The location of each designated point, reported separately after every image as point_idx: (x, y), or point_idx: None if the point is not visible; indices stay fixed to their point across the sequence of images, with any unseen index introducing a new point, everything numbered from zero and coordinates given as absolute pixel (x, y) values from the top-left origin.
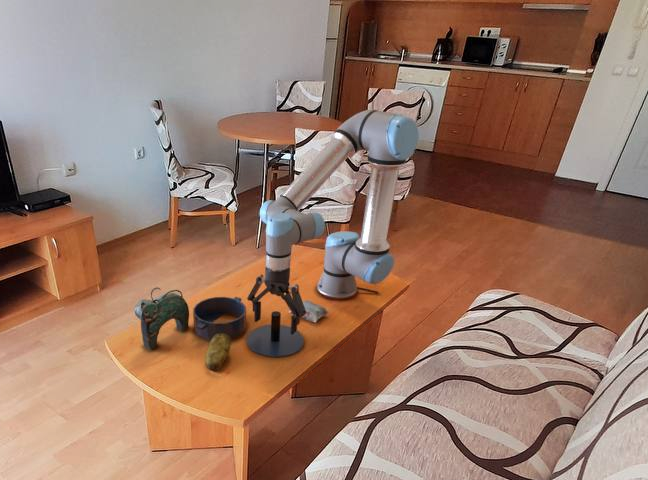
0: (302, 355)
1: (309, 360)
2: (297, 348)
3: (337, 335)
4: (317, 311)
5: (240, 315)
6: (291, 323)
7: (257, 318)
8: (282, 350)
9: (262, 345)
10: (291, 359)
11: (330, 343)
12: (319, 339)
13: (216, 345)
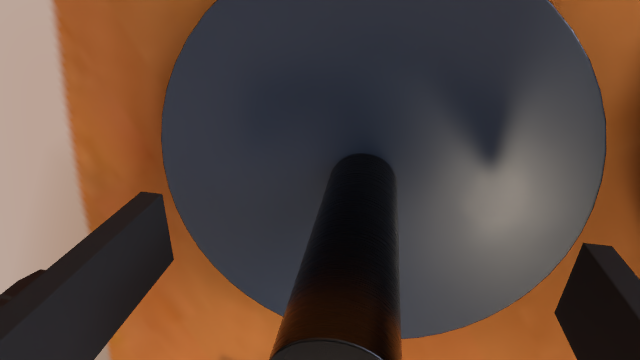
0: (139, 120)
1: (76, 91)
2: (176, 153)
3: (121, 346)
4: None
5: None
6: (68, 272)
7: (593, 290)
8: (245, 81)
9: (419, 64)
10: (165, 41)
11: None
12: (164, 294)
13: None
